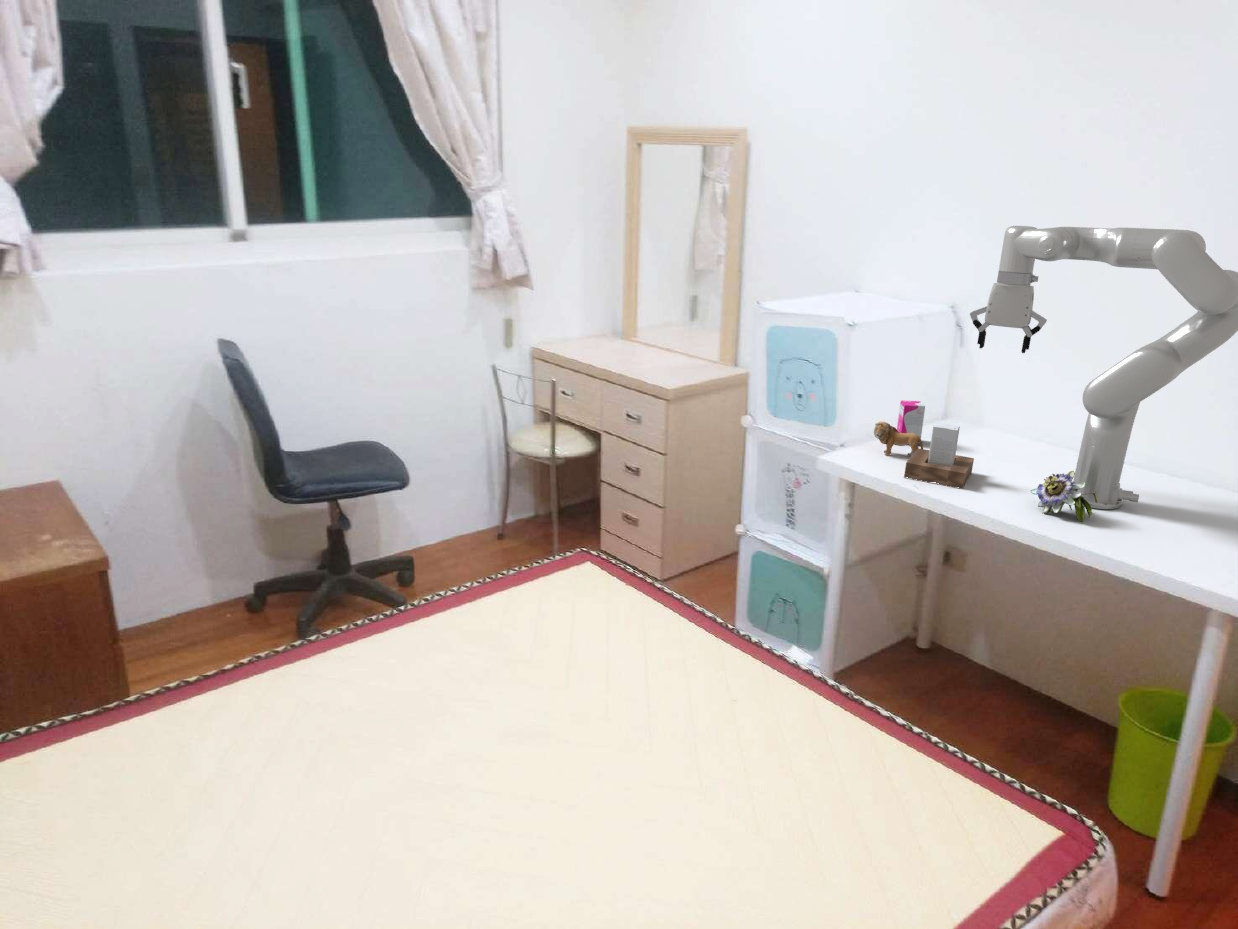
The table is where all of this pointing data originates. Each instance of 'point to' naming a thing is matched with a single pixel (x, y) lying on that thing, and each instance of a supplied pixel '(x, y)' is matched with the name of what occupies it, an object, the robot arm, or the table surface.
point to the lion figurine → (895, 438)
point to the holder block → (939, 469)
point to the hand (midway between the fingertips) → (1002, 349)
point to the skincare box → (943, 444)
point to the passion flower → (1063, 495)
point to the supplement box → (911, 417)
